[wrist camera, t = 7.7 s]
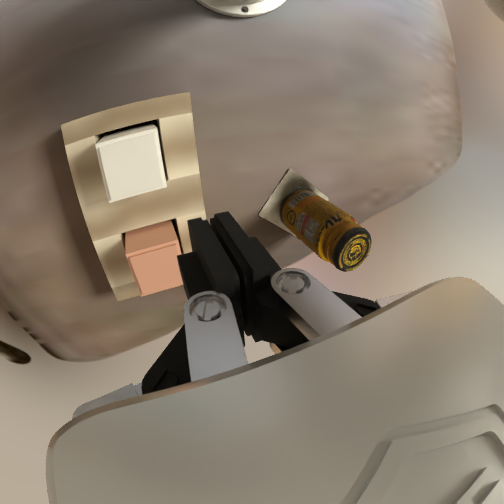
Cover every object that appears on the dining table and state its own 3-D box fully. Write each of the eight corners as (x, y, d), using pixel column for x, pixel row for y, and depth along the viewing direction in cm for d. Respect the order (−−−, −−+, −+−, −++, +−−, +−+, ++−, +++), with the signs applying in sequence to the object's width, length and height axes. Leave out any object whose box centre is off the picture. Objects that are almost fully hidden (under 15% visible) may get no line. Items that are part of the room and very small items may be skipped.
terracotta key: (125, 226, 27) (125, 256, 22) (169, 214, 29) (178, 241, 24) (137, 264, 30) (141, 298, 25) (178, 252, 31) (189, 284, 27)
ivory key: (103, 136, 22) (94, 144, 17) (152, 123, 23) (157, 128, 18) (113, 183, 24) (109, 204, 20) (160, 170, 26) (167, 188, 21)
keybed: (70, 122, 20) (60, 125, 17) (182, 93, 24) (189, 92, 21) (117, 281, 32) (117, 301, 28) (206, 255, 35) (215, 273, 32)
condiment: (300, 238, 40) (351, 285, 31) (257, 214, 35) (308, 263, 26) (328, 197, 38) (387, 235, 29) (289, 167, 33) (353, 200, 24)
